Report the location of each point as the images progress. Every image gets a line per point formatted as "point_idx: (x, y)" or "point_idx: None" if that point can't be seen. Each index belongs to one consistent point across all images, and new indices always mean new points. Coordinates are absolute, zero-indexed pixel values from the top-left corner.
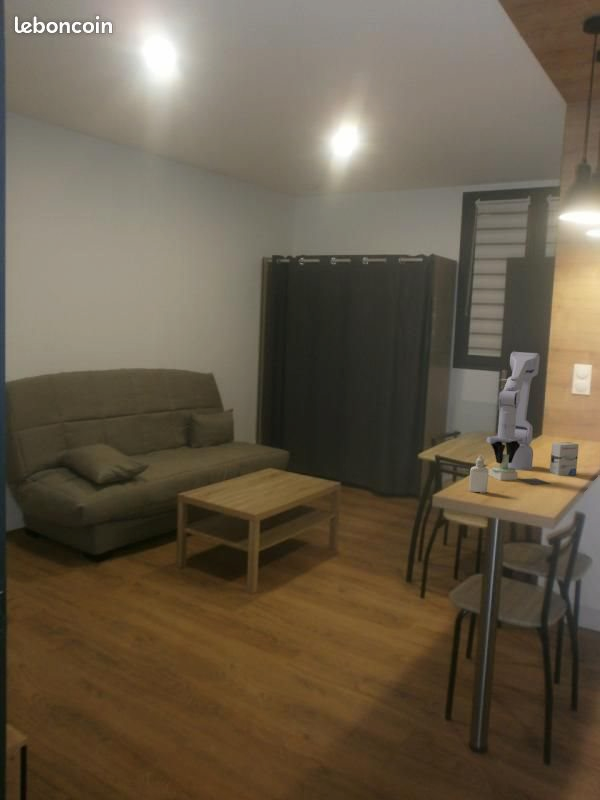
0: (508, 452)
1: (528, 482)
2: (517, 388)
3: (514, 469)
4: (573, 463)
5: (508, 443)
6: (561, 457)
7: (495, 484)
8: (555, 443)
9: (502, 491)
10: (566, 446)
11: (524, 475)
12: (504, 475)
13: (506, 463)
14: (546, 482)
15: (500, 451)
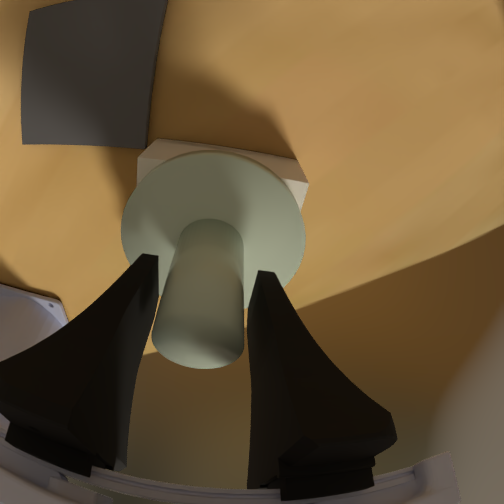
0: (132, 360)
1: (136, 53)
2: None
3: (146, 190)
4: None
5: (115, 455)
6: None
7: (385, 128)
8: None
9: (466, 22)
10: None
11: (43, 226)
12: (272, 168)
13: (214, 249)
14: (31, 42)
15: (329, 366)
